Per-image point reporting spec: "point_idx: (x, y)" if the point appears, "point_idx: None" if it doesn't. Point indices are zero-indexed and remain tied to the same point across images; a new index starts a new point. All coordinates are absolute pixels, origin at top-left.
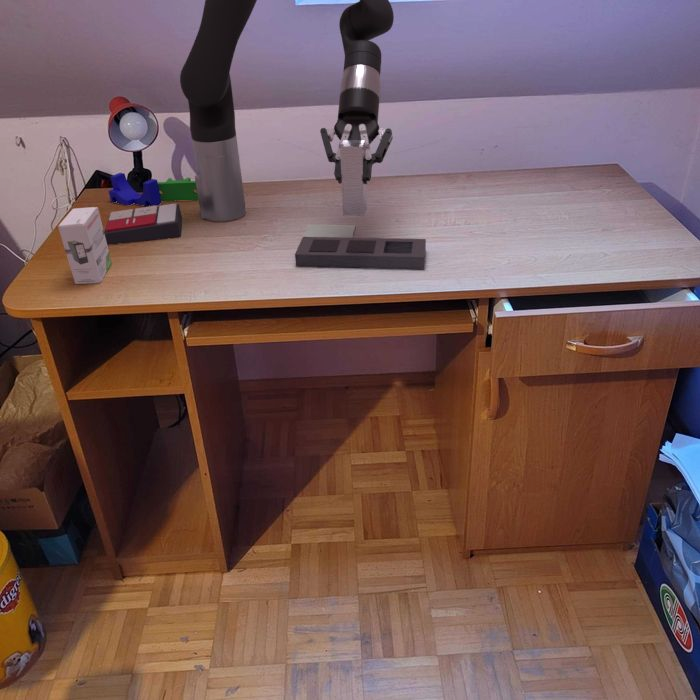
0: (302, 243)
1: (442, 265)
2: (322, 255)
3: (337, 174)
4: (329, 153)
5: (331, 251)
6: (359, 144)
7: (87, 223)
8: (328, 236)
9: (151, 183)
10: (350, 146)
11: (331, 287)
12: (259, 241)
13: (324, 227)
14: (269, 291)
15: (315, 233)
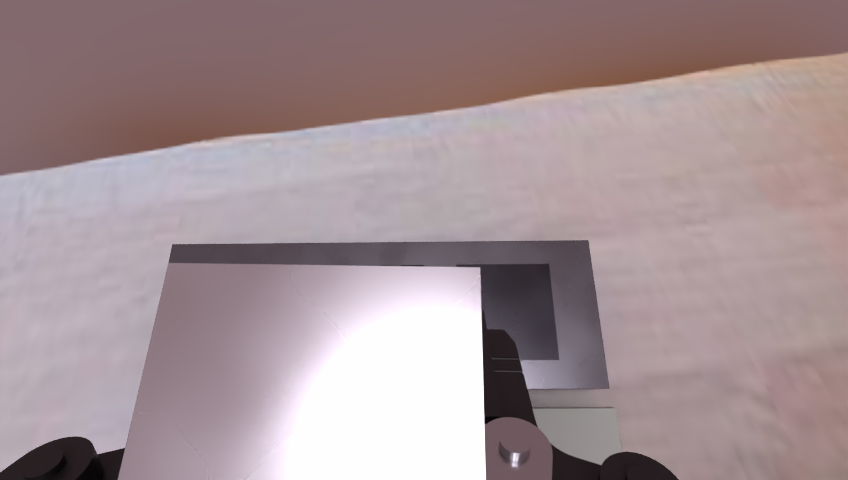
0: (590, 326)
1: (136, 287)
2: (496, 241)
3: (490, 342)
4: (636, 469)
5: (472, 264)
6: (200, 376)
7: None
8: None
9: None
10: (332, 276)
11: (444, 147)
12: (782, 447)
13: None
14: (596, 119)
15: None
